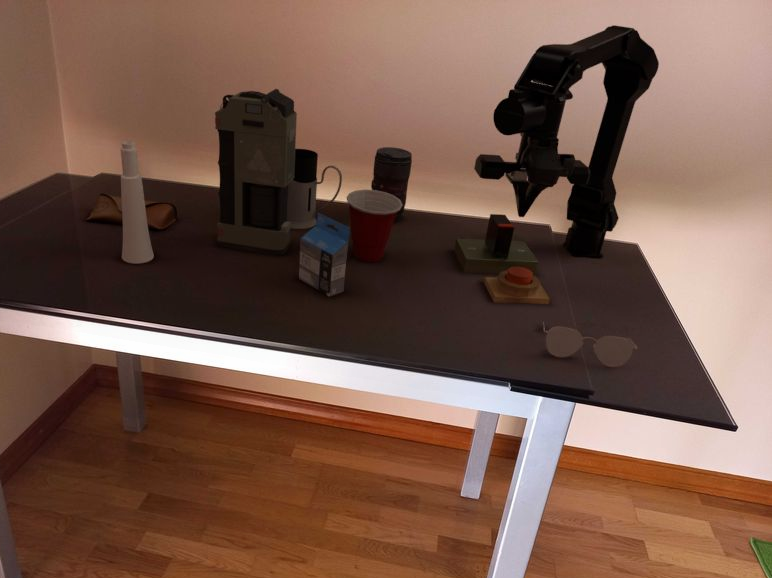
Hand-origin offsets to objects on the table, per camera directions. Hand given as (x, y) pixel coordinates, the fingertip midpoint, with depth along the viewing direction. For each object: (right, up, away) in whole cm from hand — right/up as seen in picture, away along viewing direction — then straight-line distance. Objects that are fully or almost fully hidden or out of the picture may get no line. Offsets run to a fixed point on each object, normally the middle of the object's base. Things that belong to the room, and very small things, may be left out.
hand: (520, 216), depth 125 cm
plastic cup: (-26, -5, +14) cm, 30 cm away
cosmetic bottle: (-71, -6, +9) cm, 72 cm away
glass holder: (-38, +4, +28) cm, 47 cm away
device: (-49, -3, +16) cm, 52 cm away
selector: (-1, -4, +13) cm, 13 cm away
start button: (0, -11, +2) cm, 12 cm away
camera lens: (-20, +6, +33) cm, 40 cm away
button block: (0, -14, +3) cm, 14 cm away
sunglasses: (+6, -24, -12) cm, 28 cm away
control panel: (-1, -7, +14) cm, 16 cm away
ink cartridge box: (-36, -12, +2) cm, 38 cm away
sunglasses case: (-76, +4, +25) cm, 80 cm away
